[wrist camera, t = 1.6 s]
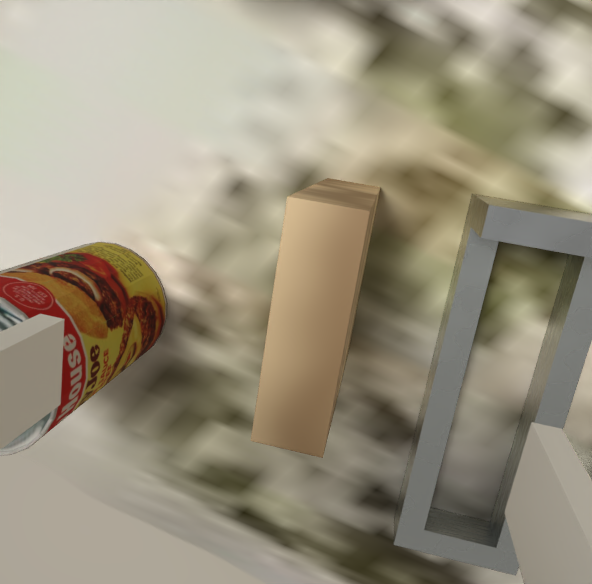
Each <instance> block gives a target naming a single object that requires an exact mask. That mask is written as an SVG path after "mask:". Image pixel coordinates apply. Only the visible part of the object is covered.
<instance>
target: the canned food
mask: <svg viewBox="0 0 592 584" xmlns="http://www.w3.org/2000/svg"><path fill="white" fill-rule="evenodd" d="M166 311H167V302H166V298H165V294H164V289H163V286H162V284H161V282H160V280H159V278H158V277H157V275H156V273H155V271H154V270H153V269H152V268H151V267H150V265H149V264H148V263H147V262H146V261H145V260H144V259H143V258H142V257H140V256H139V255H138V254H136V253H135V252H133V251H132V250H130V249H128V248H125V247H123V246H120V245H118V244H114V243H106V242H96V243H90V244H85V245H81V246H78V247H75V248H72V249H69V250H66V251H62V252H59V253H56V254H53V255H50V256H47V257H43V258H40V259H37V260H34V261H31V262H28V263H24V264H21V265H18V266H15V267H12V268H9V269H5V270H2V271H0V332H1V331H3V330H6V329H8V328H10V327H12V326H14V325H17V324H19V323H21V322H23V321H25V320H28V319H30V318H32V317H34V316H36V315H39V314H44V315H48V316H53V317H57V318H62V319H64V340H63V361H62V383H61V404H60V405H59V406H58V407H57V408H55V409H54V410H53V411H51V412H50V413H49V414H47V415H46V416H45V417H43V418H42V419H41V420H39V421H38V422H37V423H35V424H34V425H33V426H31V427H30V428H29V429H27V430H26V431H25V432H23V433H22V434H21V435H19V436H18V437H17V438H15V439H14V440H13V441H11V442H10V443H9V444H7V445H6V446H5V447H3V448H2V449H1V450H0V456H4V455H12V454H14V453H17V452H19V451H22V450H25V449H27V448H29V447H30V446H32V445H33V444H34V443H35V442H36V441H38V440H39V439H40V438H41V437H43V436H44V435H45V434H46V433H47V432H49V431H50V430H51V429H52V428H54V427H55V426H56V425H57V424H58V423H60V422H61V421H62V420H63V419H65V418H66V417H67V416H68V415H69V414H71V413H72V412H73V411H74V410H76V409H77V408H78V407H79V406H80V405H82V404H83V403H84V402H85V401H87V400H88V399H89V398H90V397H91V396H93V395H94V394H95V393H96V392H98V391H99V390H100V389H101V388H102V387H104V386H105V385H106V384H107V383H109V382H110V381H111V380H112V379H113V378H115V377H116V376H117V375H118V374H120V373H121V372H122V371H123V370H124V369H126V368H127V367H128V366H129V365H131V364H132V363H133V362H134V361H135V360H137V359H138V358H139V357H140V356H142V355H143V354H144V353H145V352H146V351H148V350H149V349H150V348H151V347H152V346H154V344H155V343H156V341H157V340H158V338H159V337H160V335H161V334H162V331H163V328H164V325H165V321H166Z"/></svg>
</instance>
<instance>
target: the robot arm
mask: <svg viewBox="0 0 592 584" xmlns="http://www.w3.org/2000/svg"><path fill="white" fill-rule="evenodd" d="M63 340H64V319H62V318H57V317H53V316H48V315H44V314H39V315H36V316H34V317H32V318H30V319H28V320H25V321H23V322H21V323H19V324H17V325H14V326H12V327H10V328H8V329H6V330H3V331H1V332H0V450H1V449H2V448H3V447H5V446H6V445H7V444H9V443H10V442H11V441H13V440H14V439H15V438H17V437H18V436H19V435H21V434H22V433H23V432H25V431H26V430H27V429H29V428H30V427H31V426H33V425H34V424H35V423H37V422H38V421H39V420H41V419H42V418H43V417H45V416H46V415H47V414H49V413H50V412H51V411H53V410H54V409H55V408H57V407H58V406H59V405H60V404H61V383H62V361H63ZM504 513H505V516H506V520H507V523H508V527H509V531H510V534H511V538H512V541H513V545H514V548H515V552H516V556H517V559H518V563H519V566H520V570H521V574H522V577H523V581H524V584H592V480H591V478H590V476H589V475H588V473H587V471H586V469H585V468H584V466H583V464H582V462H581V461H580V459H579V457H578V455H577V454H576V452H575V450H574V448H573V447H572V445H571V443H570V441H569V440H568V438H567V436H566V434H565V433H564V431H563V429H561V428H556V427H552V426H547V425H542V424H538V423H533V422H532V423H531V426H530V429H529V433H528V436H527V439H526V443H525V446H524V449H523V453H522V456H521V459H520V463H519V466H518V469H517V473H516V476H515V479H514V482H513V486H512V489H511V492H510V496H509V499H508V502H507V506H506V509H505V512H504Z"/></svg>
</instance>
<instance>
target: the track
mask: <svg viewBox="0 0 592 584" xmlns="http://www.w3.org/2000/svg"><path fill="white" fill-rule="evenodd" d="M499 241H500V242H505V243H511V244H517V245H522V246H528V247H533V248H539V249H544V250H550V251H556V252H561V253H567V254H569V256H568V260H567V263H566V266H565V270H564V273H563V277H562V280H561V283H560V287H559V290H558V293H557V297H556V300H555V304H554V307H553V310H552V314H551V317H550V320H549V324H548V327H547V331H546V334H545V337H544V341H543V344H542V347H541V351H540V354H539V358H538V361H537V364H536V368H535V371H534V375H533V378H532V381H531V385H530V388H529V391H528V395H527V398H526V402H525V405H524V408H523V412H522V415H521V418H520V422H519V425H518V429H517V432H516V435H515V439H514V442H513V446H512V449H511V452H510V456H509V459H508V462H507V466H506V469H505V473H504V476H503V479H502V483H501V486H500V489H499V493H498V496H497V500H496V503H495V506H494V510H493V513H492V517H491V520H490V522H489V521H485V520H480V519H476V518H472V517H468V516H464V515H460V514H456V513H451V512H447V511H443V510H439V509H435V508H431V507H430V505H431V501H432V497H433V494H434V490H435V486H436V482H437V478H438V474H439V470H440V467H441V463H442V459H443V455H444V451H445V447H446V443H447V440H448V436H449V432H450V428H451V424H452V420H453V416H454V412H455V409H456V405H457V401H458V397H459V393H460V389H461V385H462V382H463V378H464V374H465V370H466V366H467V362H468V358H469V355H470V351H471V347H472V343H473V339H474V335H475V331H476V328H477V324H478V320H479V316H480V312H481V308H482V304H483V300H484V297H485V293H486V289H487V285H488V281H489V277H490V273H491V270H492V266H493V262H494V258H495V254H496V250H497V246H498V243H499ZM591 340H592V214H589V213H583V212H577V211H571V210H565V209H559V208H553V207H548V206H542V205H536V204H530V203H524V202H518V201H512V200H506V199H501V198H495V197H489V196H483V195H477V194H472V197H471V201H470V205H469V209H468V213H467V217H466V222H465V226H464V230H463V234H462V238H461V242H460V247H459V251H458V255H457V259H456V263H455V267H454V272H453V276H452V280H451V284H450V288H449V292H448V297H447V301H446V305H445V309H444V313H443V317H442V322H441V326H440V330H439V334H438V338H437V342H436V347H435V351H434V355H433V359H432V363H431V367H430V372H429V376H428V380H427V384H426V388H425V392H424V397H423V401H422V405H421V409H420V413H419V417H418V422H417V426H416V430H415V434H414V438H413V442H412V447H411V451H410V455H409V459H408V463H407V468H406V472H405V476H404V480H403V484H402V488H401V493H400V497H399V501H398V505H397V509H396V513H395V518H394V545H397V546H401V547H405V548H409V549H413V550H417V551H420V552H424V553H428V554H432V555H436V556H440V557H444V558H448V559H452V560H456V561H460V562H464V563H468V564H472V565H476V566H480V567H484V568H488V569H492V570H496V571H500V572H504V573H508V574H512V575H516V574H517V571H518V568H519V563H518V559H517V556H516V552H515V548H514V545H513V541H512V538H511V534H510V531H509V527H508V523H507V520H506V516H505V513H504V512H505V509H506V506H507V502H508V499H509V496H510V492H511V489H512V486H513V482H514V479H515V476H516V473H517V469H518V466H519V463H520V459H521V456H522V453H523V449H524V446H525V443H526V439H527V436H528V433H529V429H530V426H531V423H532V422H533V423H538V424H542V425H547V426H552V427H556V428H561V429H563V427H564V424H565V421H566V418H567V415H568V412H569V409H570V405H571V402H572V399H573V396H574V393H575V390H576V387H577V384H578V381H579V377H580V374H581V371H582V368H583V365H584V362H585V359H586V356H587V352H588V349H589V346H590V343H591Z"/></svg>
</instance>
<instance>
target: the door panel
mask: <svg viewBox="0 0 592 584" xmlns="http://www.w3.org/2000/svg"><path fill="white" fill-rule="evenodd" d="M380 188H381V187H375V186H369V185H364V184H358V183H352V182H346V181H340V180H335V179H329V178H327V179H325V180H323V181H320V182H318V183H316V184H314V185H312V186H309V187H307V188H305V189H303V190H301V191H298V192H296V193H294V194H292V195H290V196H287V202H286V209H285V216H284V222H283V229H282V236H281V242H280V249H279V255H278V262H277V269H276V275H275V282H274V289H273V295H272V302H271V309H270V315H269V322H268V329H267V335H266V342H265V349H264V355H263V362H262V368H261V375H260V382H259V388H258V395H257V402H256V408H255V415H254V422H253V428H252V435H251V441H254V442H258V443H262V444H266V445H271V446H275V447H279V448H283V449H287V450H292V451H296V452H300V453H304V454H309V455H313V456H317V457H321V458H323V454H324V450H325V446H326V442H327V438H328V434H329V430H330V426H331V422H332V418H333V414H334V409H335V405H336V401H337V397H338V393H339V389H340V385H341V381H342V377H343V373H344V369H345V364H346V360H347V356H348V352H349V347H350V342H351V336H352V331H353V326H354V321H355V316H356V311H357V306H358V301H359V295H360V290H361V285H362V280H363V275H364V270H365V265H366V259H367V254H368V249H369V244H370V239H371V234H372V229H373V224H374V218H375V213H376V208H377V203H378V198H379V193H380Z"/></svg>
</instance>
